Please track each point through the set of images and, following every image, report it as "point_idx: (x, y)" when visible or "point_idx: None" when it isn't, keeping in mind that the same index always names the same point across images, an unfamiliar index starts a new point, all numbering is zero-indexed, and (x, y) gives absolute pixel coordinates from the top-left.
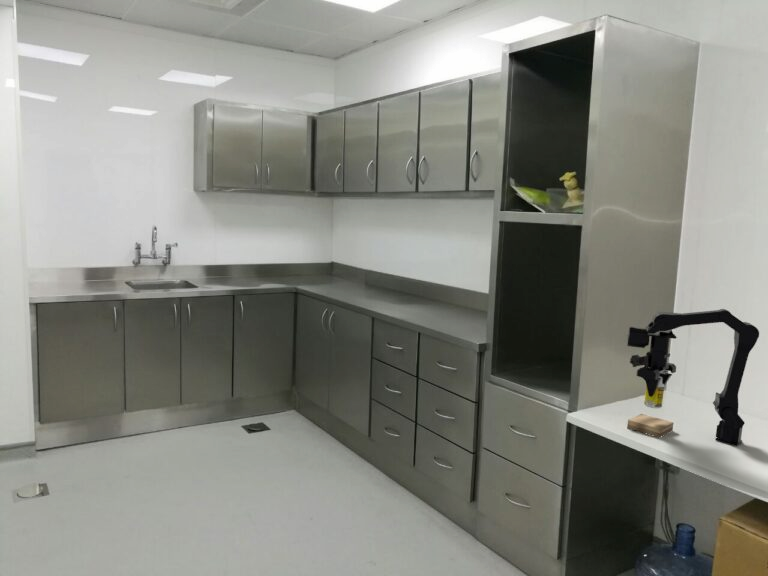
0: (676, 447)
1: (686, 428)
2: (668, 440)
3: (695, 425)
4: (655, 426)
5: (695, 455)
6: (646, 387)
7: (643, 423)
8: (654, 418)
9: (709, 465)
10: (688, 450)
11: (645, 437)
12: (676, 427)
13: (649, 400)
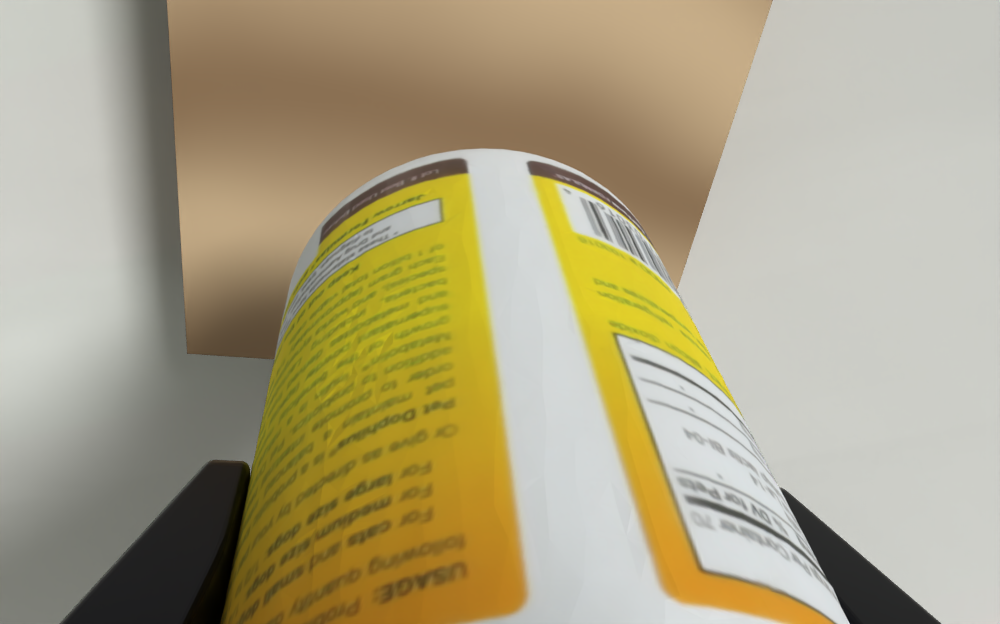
0: (63, 468)
1: (827, 387)
2: (217, 367)
3: (995, 418)
4: (235, 278)
5: (18, 604)
6: (343, 530)
7: (211, 105)
8: (658, 160)
9: None
10: (94, 547)
11: (43, 152)
12: (798, 312)
13: (270, 380)
